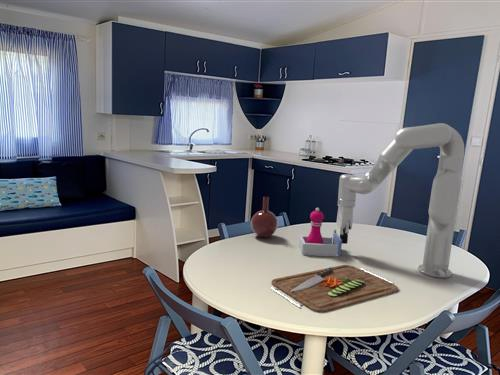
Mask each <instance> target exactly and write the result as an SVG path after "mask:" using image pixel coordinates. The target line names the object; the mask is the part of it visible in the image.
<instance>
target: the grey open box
mask: <svg viewBox="0 0 500 375" xmlns="http://www.w3.org/2000/svg"><path fill="white" fill-rule="evenodd" d="M308 236H309V235H299V236H298V248H299V250H300V253H301V255H302V256H321V257H322V256H323V257H337V256H338V255H337V249H338V245H335V244H332V243H333V236H322V239H323V244H314V243H307V238H308Z"/></svg>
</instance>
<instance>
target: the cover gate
mask: <svg viewBox="0 0 500 375" xmlns="http://www.w3.org/2000/svg"><path fill="white" fill-rule="evenodd" d="M332 244H335V245H338V249H337V256H338V257H339V256H340V257H341V254H342V245H343V244H342V240H341V239H340V235H338V232H337V229H333V235H332Z"/></svg>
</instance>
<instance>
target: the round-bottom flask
mask: <svg viewBox="0 0 500 375" xmlns="http://www.w3.org/2000/svg"><path fill="white" fill-rule="evenodd" d="M262 198H263V199H262V210H259V211H257V212H256V213H255V214H254V215H253V216H252V218H251V220H250V228H251V229H252V231H253V233H254V234H255V235H256V236H257V237H260V238H269V237H271V236H273V235H274V234H275V233H276V231H277V230H278V224H279V222H278V218H277V216H276V215H275V214H274V213H273V212H272V211H270V210H269V199H270V197H269V196H265V195H264V196H262Z"/></svg>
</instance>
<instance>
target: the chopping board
mask: <svg viewBox="0 0 500 375" xmlns="http://www.w3.org/2000/svg"><path fill="white" fill-rule="evenodd" d="M271 285H272V286H273V287H274V288H273V287H270V290H271V291H272V292H274V293H276V294H277V295H278V296H280V297H282V298H283V299H285V300H286V301H288V302H289V303H291V304H292V305H294V306H295V307H297V308H298V309H302V307H303V306H304V307H305V308H307V309H308V310H310V311H312V312H315V313H326V312H330V311H333V310H337V309H341V308H344V307H348V306H352V305H356V304H358V303H362V302H363V303H364V302H366V301H369V300H374V299H377V298H380V297H384V296H385V297H386V296H388V295H391V294H394V293H398V292H399V287H398V286H397V285H395V283H394V282H393V281H391V280H389V279H387V278H384V277H382V276H380V275H377V274H375V273H373V272H371V271H368V270H366V269H364V268H362V267H361V268H358V267H356V266H353V265H351V264H350V265H349V264H342V265H336V266H331V267H327V268H322V269H318V270H316V269H315V270H311V271H308V272H307V271H306V272H301V273H297V274H291V275H289V276H282V277H278V278H274V279H272V280H271ZM278 290H279V291H280V292H279V291H278ZM281 292H282V293H281ZM283 293H284V294H285V295H284V294H283ZM286 295H287V296H288V297H287V296H286ZM289 297H290V298H289ZM293 300H294V301H293ZM295 301H296V302H298V303H299V304H298V303H296V302H295Z"/></svg>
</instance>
